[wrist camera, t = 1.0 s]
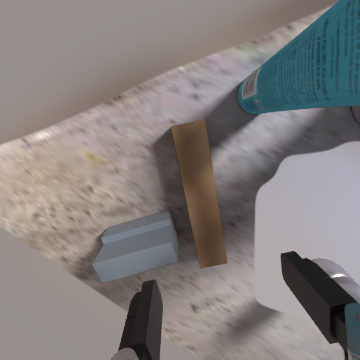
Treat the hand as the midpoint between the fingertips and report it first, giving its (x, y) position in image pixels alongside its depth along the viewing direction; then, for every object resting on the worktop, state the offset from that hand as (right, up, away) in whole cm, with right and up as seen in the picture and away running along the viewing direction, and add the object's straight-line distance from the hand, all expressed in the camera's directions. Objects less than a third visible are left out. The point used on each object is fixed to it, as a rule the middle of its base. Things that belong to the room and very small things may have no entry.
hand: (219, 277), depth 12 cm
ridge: (-8, -2, +18) cm, 20 cm away
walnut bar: (0, +4, +17) cm, 17 cm away
